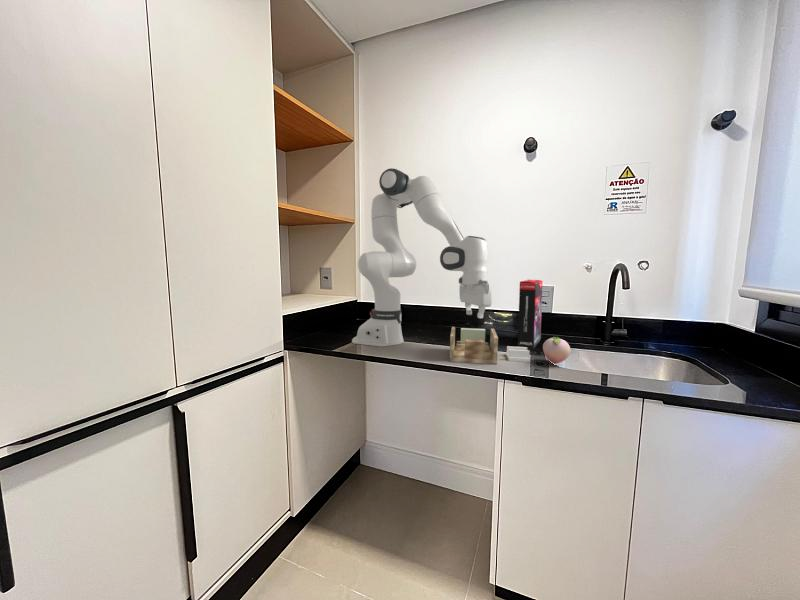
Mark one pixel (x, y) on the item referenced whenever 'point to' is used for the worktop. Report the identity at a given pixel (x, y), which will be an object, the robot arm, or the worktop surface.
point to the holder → (518, 354)
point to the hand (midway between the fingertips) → (474, 316)
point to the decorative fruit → (556, 349)
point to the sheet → (472, 334)
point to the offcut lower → (472, 354)
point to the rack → (487, 355)
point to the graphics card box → (530, 313)
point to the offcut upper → (474, 345)
